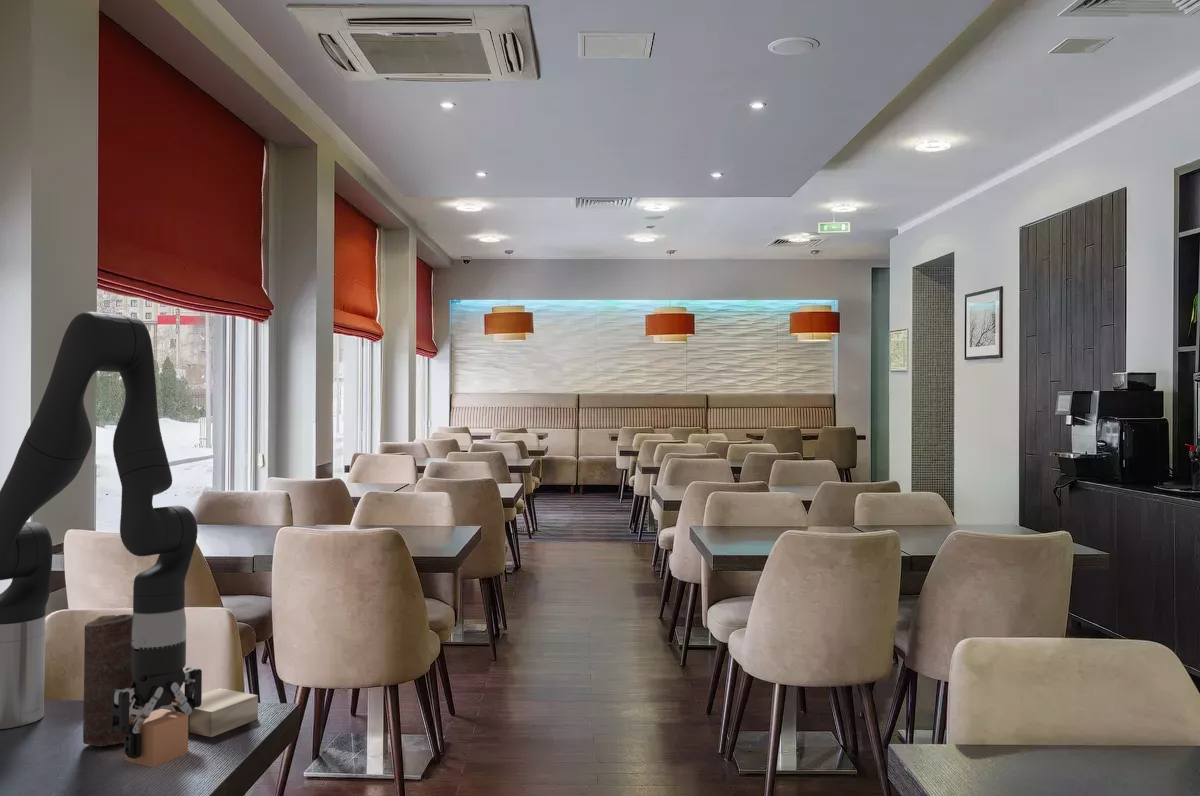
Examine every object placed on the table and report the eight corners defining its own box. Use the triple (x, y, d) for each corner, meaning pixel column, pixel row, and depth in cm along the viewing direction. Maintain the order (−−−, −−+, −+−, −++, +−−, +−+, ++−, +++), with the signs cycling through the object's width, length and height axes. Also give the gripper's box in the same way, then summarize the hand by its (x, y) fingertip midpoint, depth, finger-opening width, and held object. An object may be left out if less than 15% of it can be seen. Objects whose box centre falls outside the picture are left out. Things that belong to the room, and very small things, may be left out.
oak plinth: (170, 728, 145) (170, 703, 145) (217, 711, 153) (218, 687, 153) (211, 737, 141) (211, 712, 141) (257, 719, 149) (258, 695, 149)
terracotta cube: (125, 760, 131) (126, 720, 131) (160, 747, 137) (161, 708, 137) (152, 767, 129) (153, 726, 129) (187, 753, 134) (188, 714, 134)
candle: (111, 755, 133) (113, 622, 133) (70, 751, 134) (72, 620, 135) (147, 737, 140) (148, 612, 141) (107, 734, 142) (109, 610, 142)
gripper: (182, 626, 141) (181, 729, 141) (97, 647, 128) (96, 760, 128) (215, 631, 138) (214, 736, 137) (132, 653, 125) (130, 769, 124)
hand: (157, 748), depth 133 cm, fingers open, 7 cm apart
